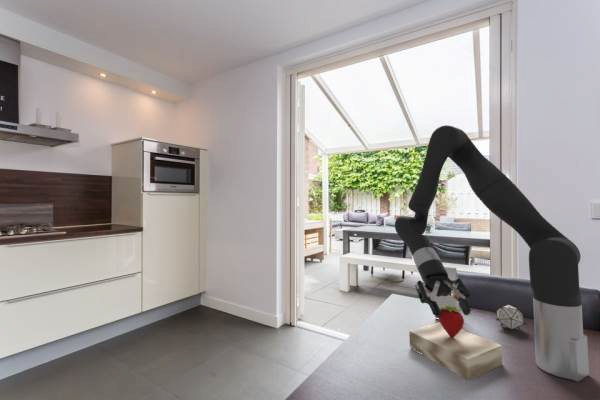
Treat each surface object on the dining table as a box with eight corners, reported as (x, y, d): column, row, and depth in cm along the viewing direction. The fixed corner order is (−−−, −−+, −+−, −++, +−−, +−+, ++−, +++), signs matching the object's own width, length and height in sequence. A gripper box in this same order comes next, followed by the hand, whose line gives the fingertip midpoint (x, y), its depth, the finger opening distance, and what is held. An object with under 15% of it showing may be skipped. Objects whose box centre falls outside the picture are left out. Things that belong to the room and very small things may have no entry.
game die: (518, 341, 95) (539, 323, 90) (493, 332, 95) (513, 314, 90) (506, 318, 102) (525, 301, 97) (483, 310, 103) (501, 292, 97)
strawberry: (450, 344, 76) (449, 307, 76) (433, 332, 84) (432, 298, 84) (470, 342, 77) (469, 305, 77) (452, 330, 84) (450, 296, 85)
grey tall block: (456, 323, 101) (454, 269, 101) (434, 319, 105) (433, 267, 106) (459, 317, 107) (457, 266, 107) (439, 313, 111) (437, 264, 111)
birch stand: (502, 364, 75) (501, 345, 75) (468, 380, 69) (467, 359, 69) (441, 337, 91) (441, 321, 91) (409, 347, 85) (409, 331, 85)
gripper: (411, 259, 88) (434, 310, 76) (455, 257, 89) (484, 307, 77) (404, 272, 93) (424, 322, 81) (445, 270, 94) (471, 319, 83)
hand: (453, 315), depth 79 cm, fingers open, 8 cm apart
